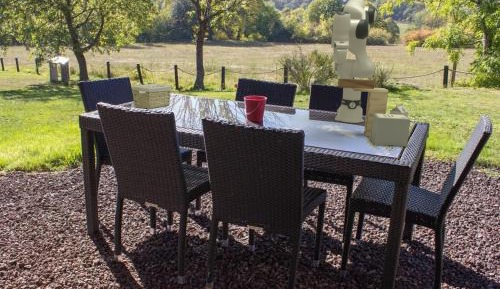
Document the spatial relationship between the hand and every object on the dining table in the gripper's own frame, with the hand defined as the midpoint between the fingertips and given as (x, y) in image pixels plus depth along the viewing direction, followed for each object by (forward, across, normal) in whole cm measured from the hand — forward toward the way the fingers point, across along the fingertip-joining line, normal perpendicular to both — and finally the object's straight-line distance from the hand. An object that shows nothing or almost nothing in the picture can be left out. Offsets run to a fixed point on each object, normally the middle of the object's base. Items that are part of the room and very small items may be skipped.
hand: (337, 71), depth 241 cm
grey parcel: (+35, +5, +29) cm, 46 cm away
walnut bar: (+9, -12, +12) cm, 19 cm away
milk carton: (+36, -8, +36) cm, 51 cm away
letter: (+21, +6, +29) cm, 36 cm away
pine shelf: (+35, -12, +21) cm, 43 cm away
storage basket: (+36, -72, -115) cm, 141 cm away
